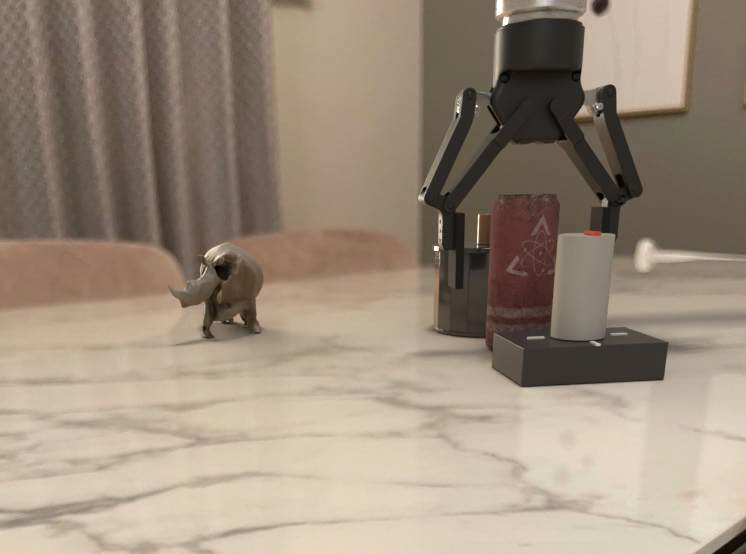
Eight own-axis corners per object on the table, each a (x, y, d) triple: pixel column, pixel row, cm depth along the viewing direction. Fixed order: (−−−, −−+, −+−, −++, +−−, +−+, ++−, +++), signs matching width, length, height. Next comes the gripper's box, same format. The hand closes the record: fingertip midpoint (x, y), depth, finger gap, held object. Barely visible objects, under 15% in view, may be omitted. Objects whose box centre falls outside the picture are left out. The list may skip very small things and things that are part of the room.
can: (558, 345, 83) (570, 192, 78) (537, 356, 78) (548, 193, 73) (499, 341, 86) (507, 192, 81) (475, 352, 81) (482, 194, 76)
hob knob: (542, 333, 72) (550, 229, 69) (591, 331, 73) (601, 228, 69) (562, 341, 68) (571, 232, 65) (614, 339, 69) (625, 231, 65)
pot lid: (519, 249, 96) (522, 210, 95) (556, 257, 86) (559, 214, 84) (421, 252, 95) (422, 213, 93) (446, 261, 84) (447, 217, 83)
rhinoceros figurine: (283, 295, 103) (252, 189, 91) (275, 380, 96) (241, 278, 84) (221, 302, 104) (182, 198, 92) (209, 386, 97) (165, 286, 85)
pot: (506, 316, 101) (510, 242, 98) (554, 339, 87) (561, 253, 83) (419, 320, 100) (420, 245, 97) (453, 343, 85) (456, 256, 82)
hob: (619, 360, 76) (623, 324, 75) (665, 380, 68) (671, 340, 67) (490, 366, 75) (492, 329, 74) (522, 387, 67) (525, 347, 66)
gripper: (658, 28, 76) (634, 274, 84) (385, 32, 73) (388, 285, 82) (702, 12, 69) (670, 281, 78) (403, 16, 66) (403, 295, 75)
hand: (525, 284), depth 80 cm, fingers open, 13 cm apart
